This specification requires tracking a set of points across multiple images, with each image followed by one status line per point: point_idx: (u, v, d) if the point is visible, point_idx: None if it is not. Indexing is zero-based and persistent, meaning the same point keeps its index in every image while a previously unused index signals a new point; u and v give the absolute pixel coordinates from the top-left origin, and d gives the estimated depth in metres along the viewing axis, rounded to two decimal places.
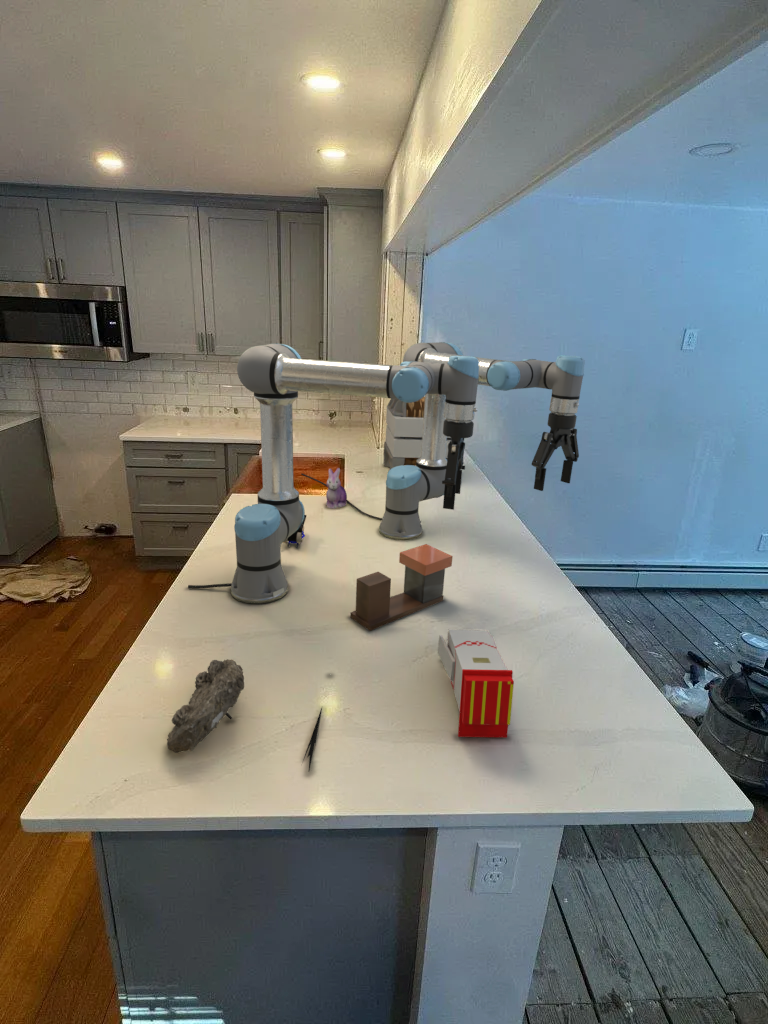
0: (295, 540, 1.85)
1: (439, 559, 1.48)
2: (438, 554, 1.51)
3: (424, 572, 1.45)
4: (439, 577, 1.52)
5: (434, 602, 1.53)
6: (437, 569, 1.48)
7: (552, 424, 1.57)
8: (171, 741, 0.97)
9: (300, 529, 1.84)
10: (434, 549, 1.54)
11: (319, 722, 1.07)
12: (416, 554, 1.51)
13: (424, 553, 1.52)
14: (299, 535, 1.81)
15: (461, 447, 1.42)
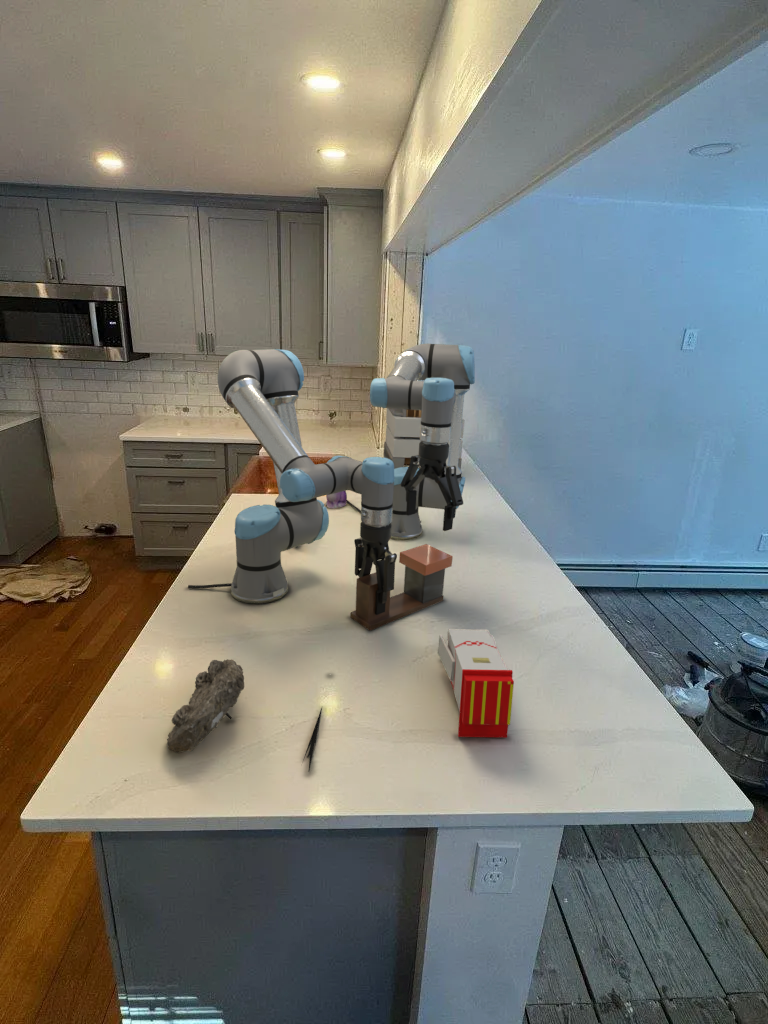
0: None
1: (439, 559, 1.48)
2: (438, 554, 1.51)
3: (424, 572, 1.45)
4: (439, 577, 1.52)
5: (434, 602, 1.53)
6: (437, 569, 1.48)
7: None
8: (171, 741, 0.97)
9: None
10: (434, 549, 1.54)
11: (319, 722, 1.07)
12: (417, 554, 1.51)
13: (424, 553, 1.52)
14: None
15: None
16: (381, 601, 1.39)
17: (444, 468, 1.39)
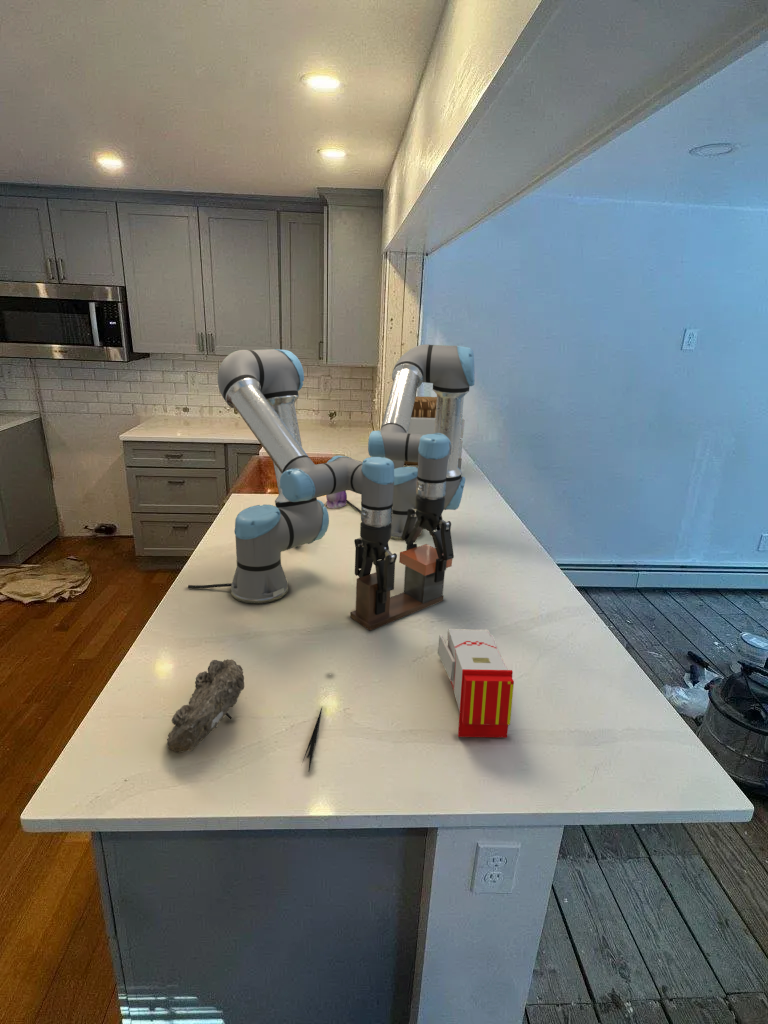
0: None
1: None
2: None
3: (424, 572, 1.46)
4: None
5: (434, 602, 1.53)
6: None
7: None
8: (171, 741, 0.97)
9: None
10: (434, 549, 1.54)
11: (319, 722, 1.07)
12: (417, 554, 1.51)
13: (424, 553, 1.52)
14: None
15: None
16: (381, 601, 1.39)
17: (440, 522, 1.44)
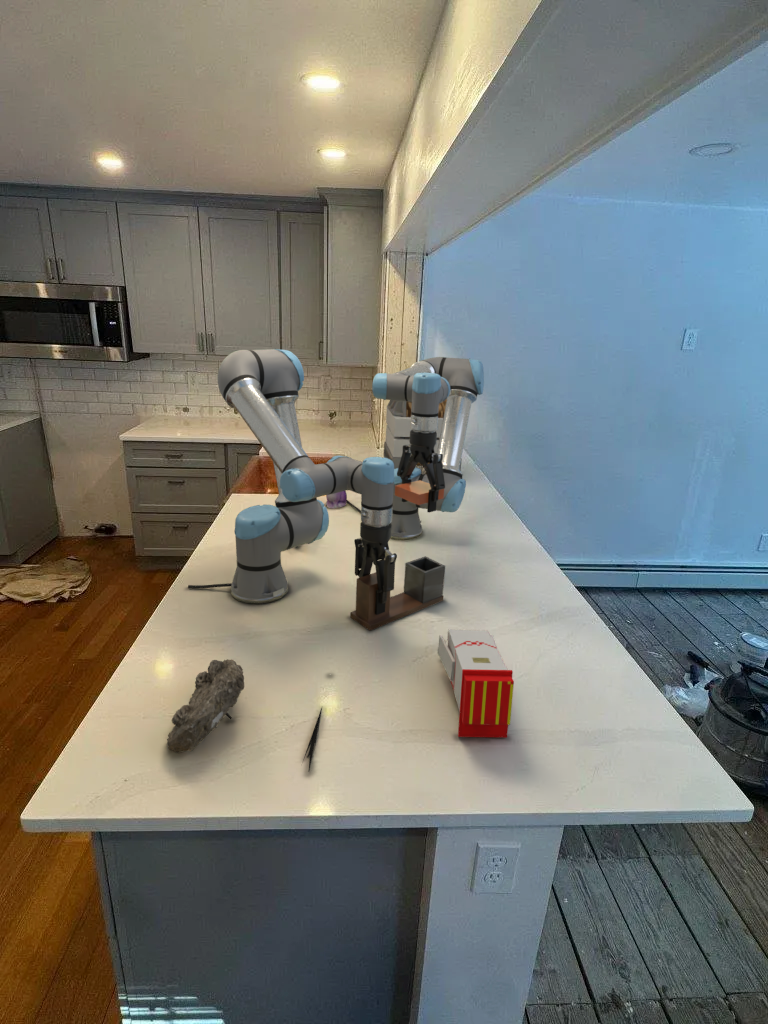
0: None
1: None
2: None
3: (418, 501, 1.57)
4: (439, 577, 1.52)
5: (434, 602, 1.53)
6: None
7: None
8: (171, 741, 0.97)
9: None
10: (427, 484, 1.66)
11: (319, 722, 1.07)
12: (411, 487, 1.62)
13: (418, 486, 1.63)
14: None
15: None
16: (381, 601, 1.39)
17: (432, 454, 1.56)
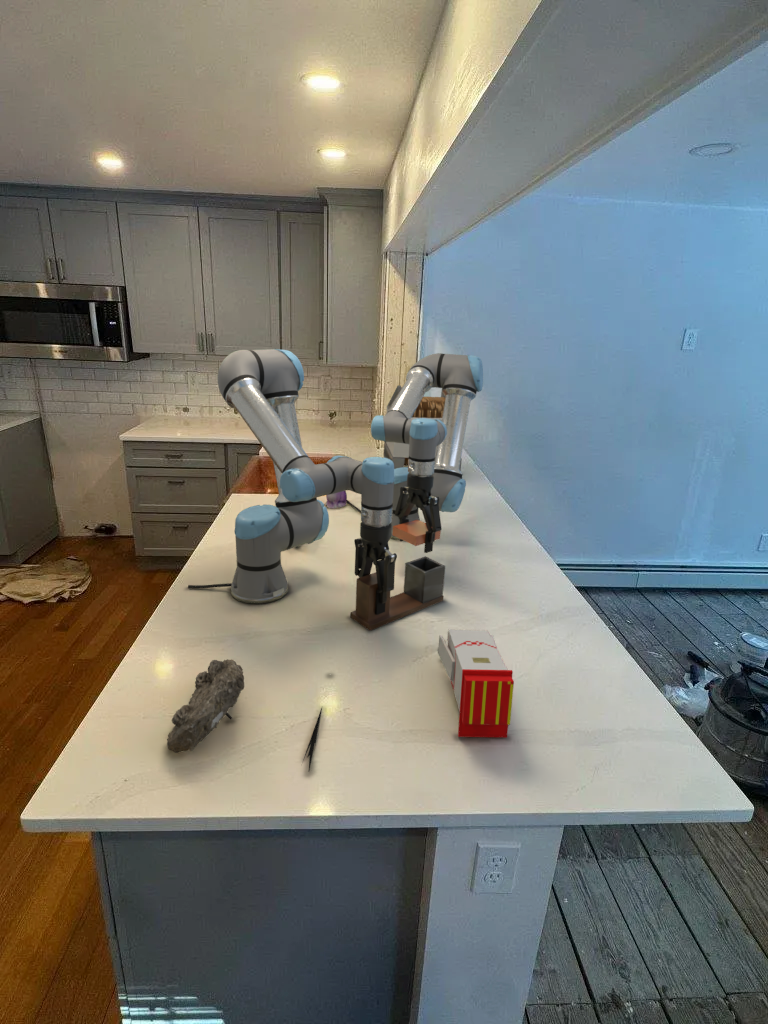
0: None
1: None
2: None
3: (415, 543, 1.61)
4: (439, 577, 1.52)
5: (434, 602, 1.53)
6: None
7: None
8: (171, 741, 0.97)
9: None
10: (424, 524, 1.70)
11: (319, 722, 1.07)
12: (408, 527, 1.66)
13: (415, 526, 1.67)
14: None
15: None
16: (381, 601, 1.39)
17: (429, 497, 1.60)
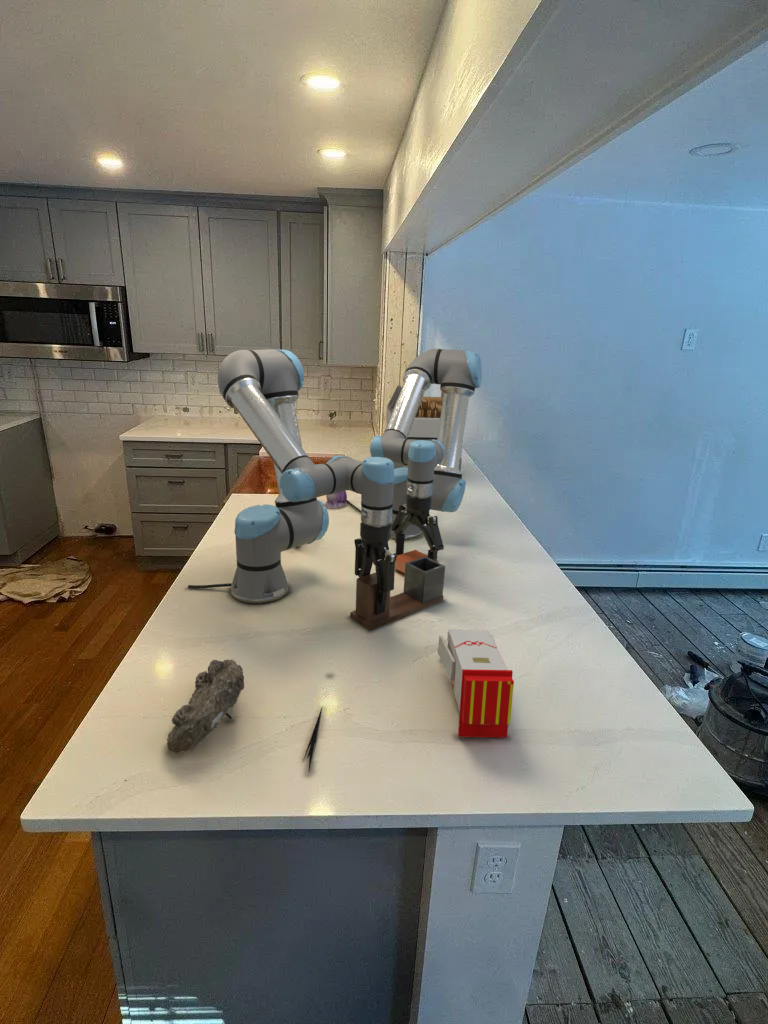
0: None
1: None
2: None
3: None
4: (439, 577, 1.52)
5: (434, 602, 1.53)
6: None
7: None
8: (171, 741, 0.97)
9: None
10: (422, 554, 1.74)
11: (319, 722, 1.07)
12: (406, 559, 1.70)
13: (413, 558, 1.71)
14: None
15: None
16: (381, 601, 1.39)
17: (427, 518, 1.62)
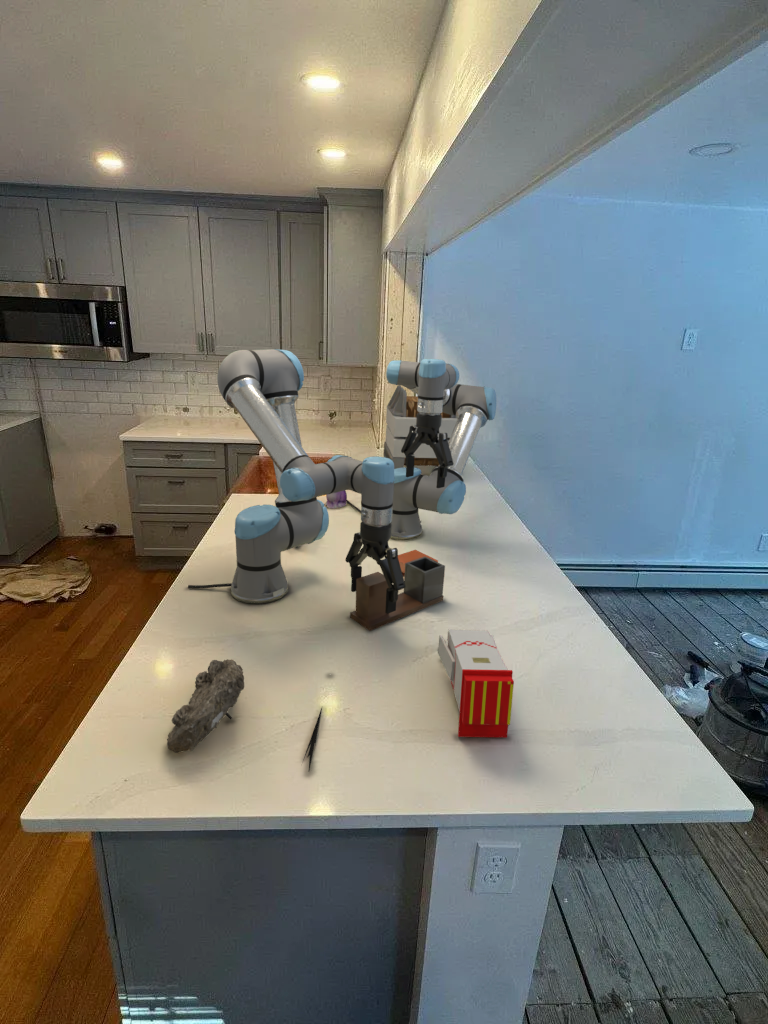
0: None
1: None
2: None
3: None
4: (439, 577, 1.52)
5: (433, 602, 1.53)
6: None
7: None
8: (171, 741, 0.97)
9: None
10: (422, 554, 1.74)
11: (319, 722, 1.07)
12: (406, 559, 1.70)
13: (413, 558, 1.71)
14: None
15: None
16: (392, 600, 1.35)
17: (437, 435, 1.67)
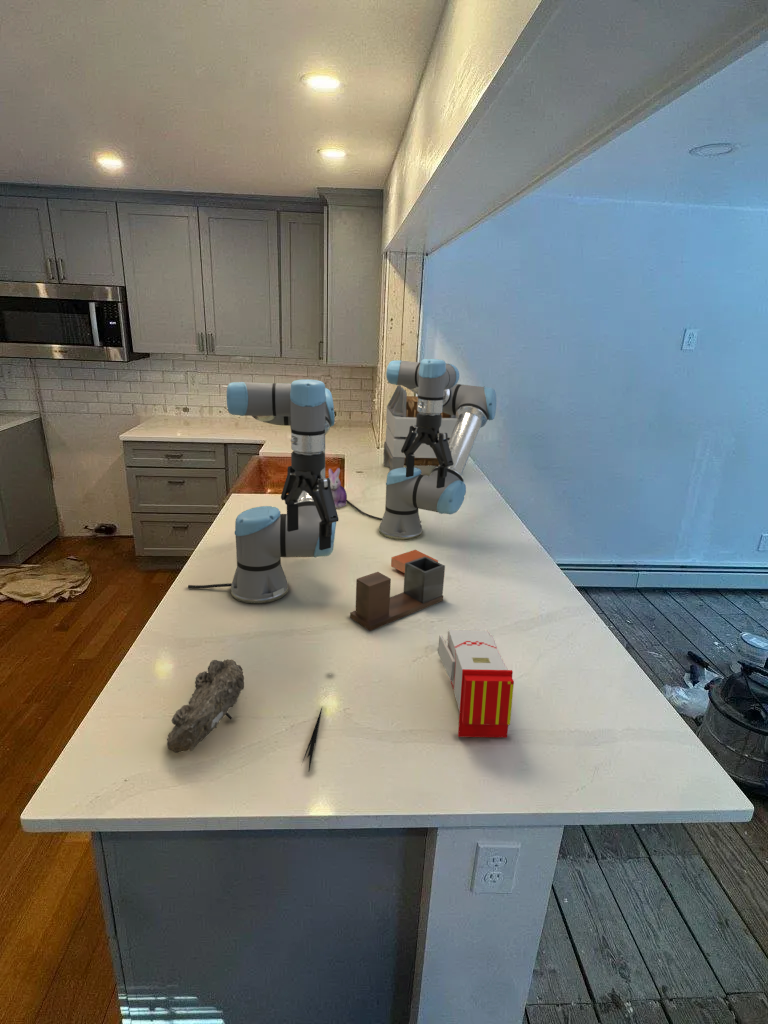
0: None
1: None
2: None
3: None
4: (439, 577, 1.52)
5: (433, 602, 1.53)
6: None
7: None
8: (171, 741, 0.97)
9: None
10: (422, 554, 1.74)
11: (319, 722, 1.07)
12: (406, 559, 1.70)
13: (413, 558, 1.71)
14: None
15: None
16: (325, 534, 1.26)
17: (437, 435, 1.67)
